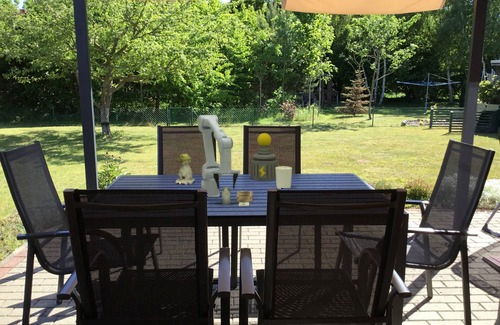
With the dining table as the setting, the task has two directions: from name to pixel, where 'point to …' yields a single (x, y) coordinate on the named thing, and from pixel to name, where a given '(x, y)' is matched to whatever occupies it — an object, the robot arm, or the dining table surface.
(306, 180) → the dining table surface
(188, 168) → the cream figurine
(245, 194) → the tan frame
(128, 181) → the dining table surface
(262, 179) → the decorative lamp
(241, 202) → the key card
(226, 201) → the pin
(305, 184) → the dining table surface
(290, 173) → the candle holder
